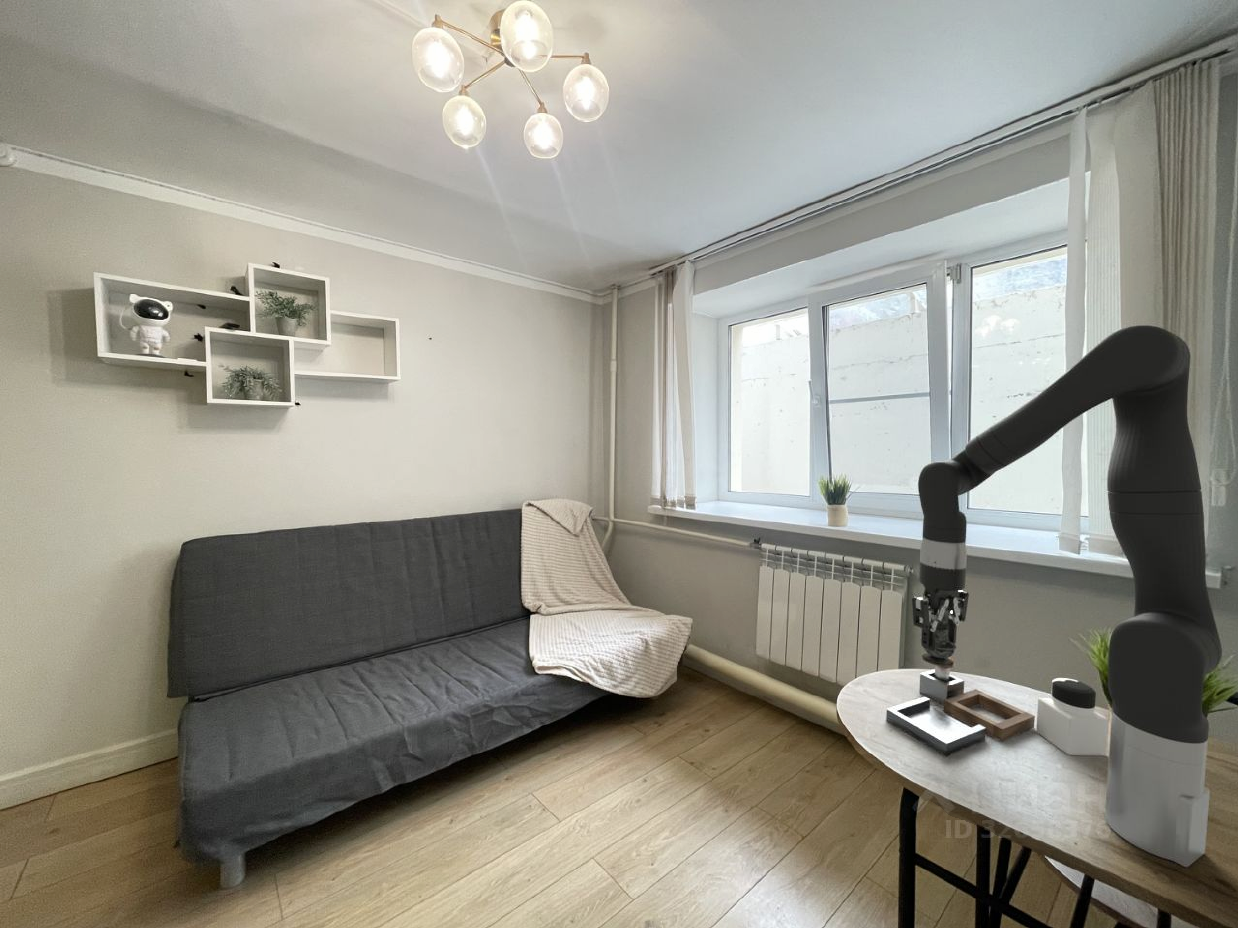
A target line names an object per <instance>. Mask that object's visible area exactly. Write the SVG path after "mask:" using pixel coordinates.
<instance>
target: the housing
mask: <svg viewBox="0 0 1238 928" xmlns="http://www.w3.org/2000/svg"><path fill="white" fill-rule="evenodd" d="M934 676H935V668H933V669H931V670H926V671H925V672H924V671H923V672H921V673H919V689H918V690H919V691H918V692H919V693H920V694H921V695H924V697H927V698H929V699H930V700H931V699H932V700H933V701H935V702H938V703H939V704H941V705H943V706H944V700H945V699H948V698H951V697H954V696H957V695H960V694H963V693H965V691H964V690H965V680H964V679H961V678H960V677H957V676H955V675H953V674H951V673H950V678H949V682H947V683H944V682H942V681H940V680H938V679H936V678H934Z"/></svg>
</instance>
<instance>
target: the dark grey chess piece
mask: <svg viewBox="0 0 1238 928" xmlns="http://www.w3.org/2000/svg"><path fill="white" fill-rule="evenodd" d="M930 614H932V615H936V614H935V613H932V612H930ZM948 615H949V611H948V610H945V612H944V615H943V618H942V620H941V621H940V622H938V624H937V627H936V630H935V632H936V634H935V649H934V650H929V649H926V648H924V647H923V650H924V651H925V652H926V653H923V654H922V655H921V658H922V660H923V661H924V662H927V663H928V664H930V665H934V666H935V665H937V666H942V667H951V666H953V665H954V663H953V661H952V660H951V659H949V658H948V657H950V658H951V656H953V655H954V652H955V650H956V649H957V645H956V643H955V644H954V643H952V642H950V641H949V638H948V628H950V625H949V624H948ZM931 621H932V619H931V618H930V620H929V622H930V624H931ZM921 640H922V639H920V641H921Z"/></svg>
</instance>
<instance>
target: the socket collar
mask: <svg viewBox="0 0 1238 928" xmlns="http://www.w3.org/2000/svg"><path fill="white" fill-rule="evenodd" d="M977 706H980V707H982V708H983V709H986V710H989V711H990V712H993V713H994V714H996V715H998V716H1001V717H1003V718H1005V720H1002V721H1000V722H998V721H995V720H994V719H991V718H990V717H987V716H986V715H983V714H981V713H980V712H977V711H975V710H973V709H971V708H974V707H977ZM944 712H945V714H946V713H947V715H949V716H950V715H951V717H953V718H956V719H958V720H959V721H960V722H961V721H962V723H963V722H964V724H966V725H968V726H972V727H974V726H977V725H981V726H983V727H985V728H986V735H988V736H990V737H992V738H994V739H996V740H998V741H1001V742H1004V741H1007V740H1008V739H1011V738H1013V737H1016V736H1019V735H1021V734H1024V733H1026V732H1028V731H1030V730H1032V729H1035V719H1036V717H1035V716H1036V715H1033V714H1031V713H1029V712H1027V711H1025V710H1023V709H1020V708H1018V707H1016V706H1014V705H1011V704H1009V703H1007V702H1005V701H1002V700H1001V699H999V698H997V697H994V696H991V695H990V694H988V693H986V692H982V691H981V690H978V689H977V688H975V689H972V690H969V691H966V692H964V693H963V694H960V695H957V696H954V697H951V698H948V699H945V700H944V705H943V713H944Z"/></svg>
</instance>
